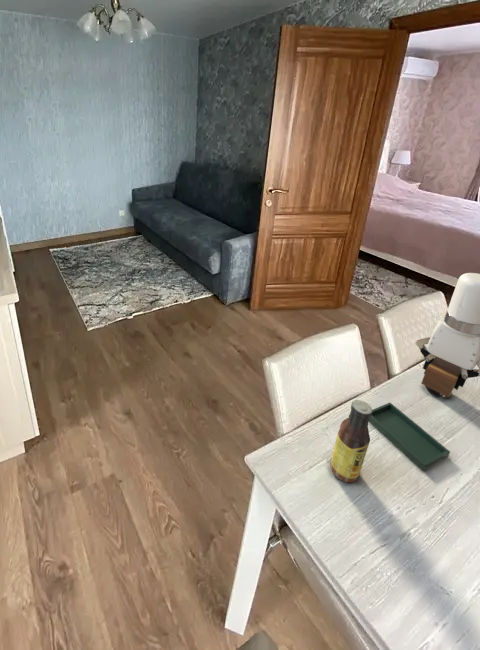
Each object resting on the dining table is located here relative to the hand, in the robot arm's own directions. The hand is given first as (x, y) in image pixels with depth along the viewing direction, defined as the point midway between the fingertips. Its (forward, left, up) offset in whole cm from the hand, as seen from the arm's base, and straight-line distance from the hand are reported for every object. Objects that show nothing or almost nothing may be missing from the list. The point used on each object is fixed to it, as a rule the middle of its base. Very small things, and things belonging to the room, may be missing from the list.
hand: (441, 378), depth 91 cm
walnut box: (0, 0, -1) cm, 1 cm away
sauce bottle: (-3, +34, -14) cm, 37 cm away
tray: (-2, +12, -13) cm, 18 cm away
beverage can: (+5, -12, -14) cm, 19 cm away
